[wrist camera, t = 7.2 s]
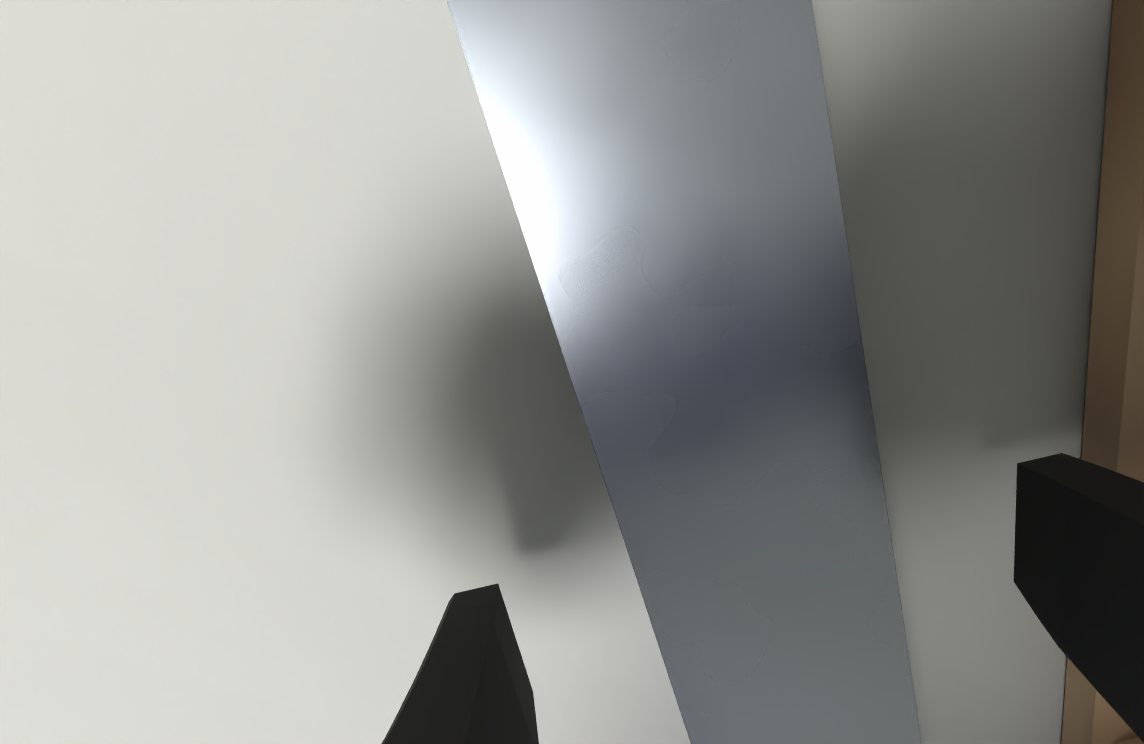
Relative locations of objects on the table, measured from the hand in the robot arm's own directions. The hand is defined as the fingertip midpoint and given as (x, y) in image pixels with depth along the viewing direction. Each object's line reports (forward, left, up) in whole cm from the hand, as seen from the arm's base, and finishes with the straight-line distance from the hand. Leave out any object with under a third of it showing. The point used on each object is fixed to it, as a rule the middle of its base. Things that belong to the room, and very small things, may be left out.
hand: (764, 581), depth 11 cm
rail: (0, 0, -3) cm, 3 cm away
